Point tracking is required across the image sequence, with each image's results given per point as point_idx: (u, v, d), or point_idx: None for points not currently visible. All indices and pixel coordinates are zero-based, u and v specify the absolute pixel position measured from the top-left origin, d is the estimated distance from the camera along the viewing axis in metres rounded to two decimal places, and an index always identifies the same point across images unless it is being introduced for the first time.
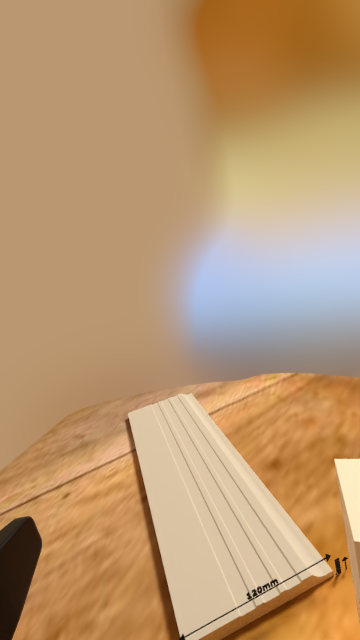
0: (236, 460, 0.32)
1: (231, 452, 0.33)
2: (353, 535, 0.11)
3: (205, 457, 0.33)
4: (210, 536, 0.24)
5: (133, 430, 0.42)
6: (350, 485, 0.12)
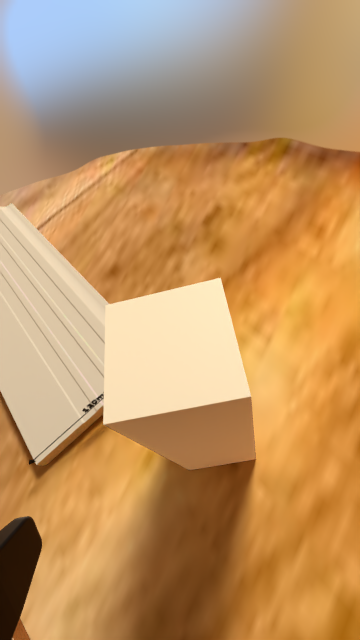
0: (72, 277, 0.29)
1: (66, 269, 0.29)
2: (105, 415, 0.08)
3: (37, 283, 0.28)
4: (51, 364, 0.23)
5: None
6: (116, 342, 0.09)
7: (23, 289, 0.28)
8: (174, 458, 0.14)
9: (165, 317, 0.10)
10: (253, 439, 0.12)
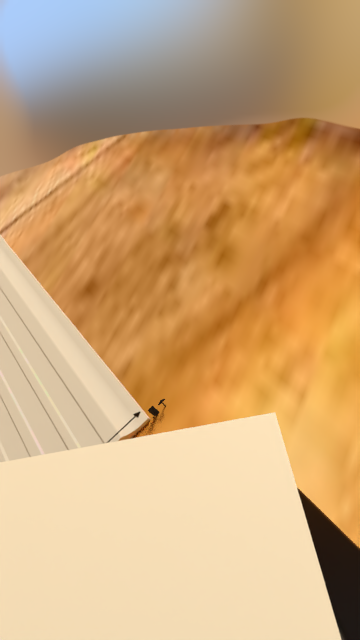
0: (36, 296, 0.22)
1: (29, 285, 0.23)
2: None
3: None
4: None
5: None
6: None
7: None
8: None
9: (107, 552, 0.03)
10: None
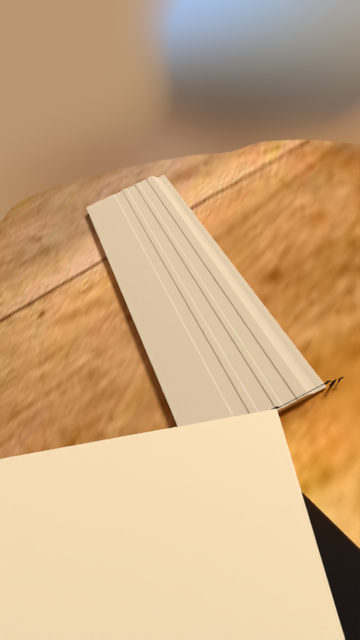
0: (228, 271, 0.28)
1: (222, 261, 0.29)
2: None
3: (192, 269, 0.28)
4: (206, 358, 0.24)
5: (99, 233, 0.34)
6: None
7: (178, 271, 0.29)
8: None
9: (110, 547, 0.03)
10: None
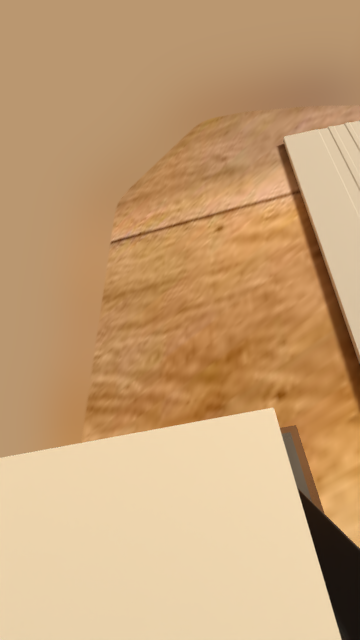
0: None
1: None
2: None
3: None
4: None
5: (295, 164, 0.32)
6: None
7: None
8: None
9: (107, 546, 0.03)
10: None
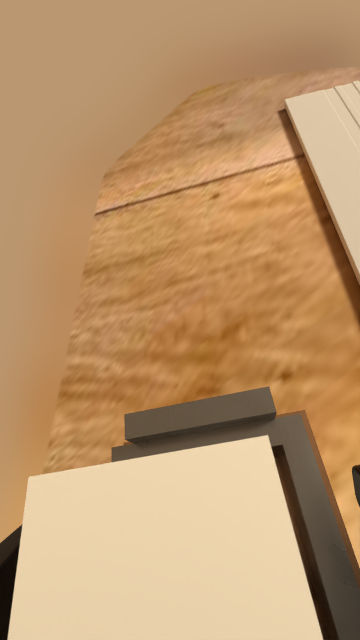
0: None
1: None
2: None
3: None
4: None
5: (298, 126, 0.29)
6: (37, 596, 0.04)
7: None
8: None
9: (148, 536, 0.04)
10: None
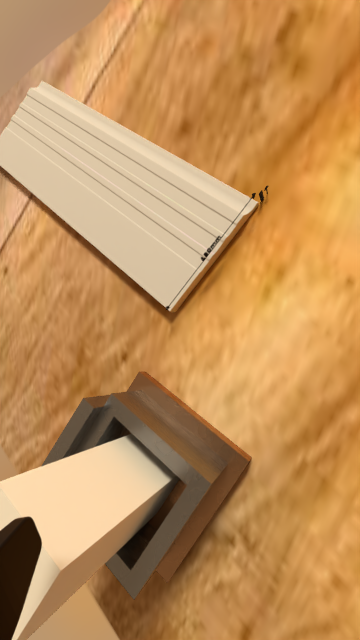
0: (140, 145, 0.28)
1: (131, 139, 0.28)
2: None
3: (108, 161, 0.28)
4: (152, 232, 0.25)
5: (12, 173, 0.33)
6: None
7: (96, 170, 0.29)
8: (120, 546, 0.17)
9: None
10: (144, 502, 0.15)
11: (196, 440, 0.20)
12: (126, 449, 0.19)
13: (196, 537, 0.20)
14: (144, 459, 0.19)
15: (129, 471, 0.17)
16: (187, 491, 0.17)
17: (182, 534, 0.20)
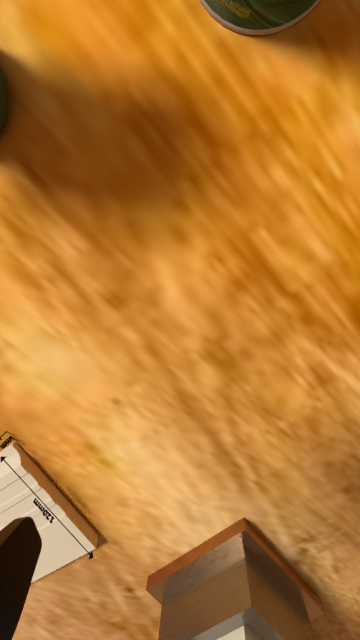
0: None
1: None
2: None
3: None
4: None
5: None
6: None
7: None
8: None
9: None
10: None
11: (217, 567, 0.23)
12: None
13: (295, 583, 0.23)
14: None
15: None
16: (253, 624, 0.19)
17: (290, 593, 0.23)
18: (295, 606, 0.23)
